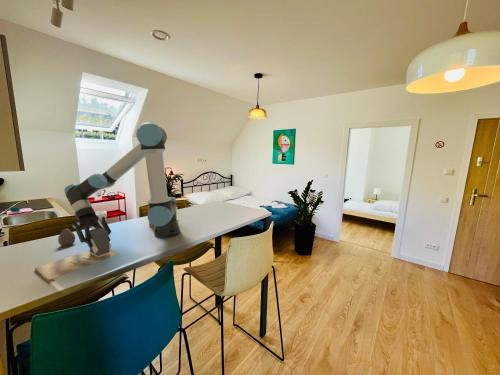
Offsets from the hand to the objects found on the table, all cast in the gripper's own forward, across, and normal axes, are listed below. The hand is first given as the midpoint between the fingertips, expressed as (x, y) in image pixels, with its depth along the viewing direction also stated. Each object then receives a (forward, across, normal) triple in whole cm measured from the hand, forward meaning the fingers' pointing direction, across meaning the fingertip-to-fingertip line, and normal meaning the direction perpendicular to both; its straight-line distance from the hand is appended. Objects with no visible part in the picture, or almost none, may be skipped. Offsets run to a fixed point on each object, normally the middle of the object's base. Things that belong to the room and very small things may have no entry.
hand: (103, 249), depth 99 cm
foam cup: (-23, -14, -29) cm, 40 cm away
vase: (-19, +3, -26) cm, 32 cm away
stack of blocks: (-13, -49, -19) cm, 54 cm away
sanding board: (0, +8, -5) cm, 10 cm away
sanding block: (-1, 0, -5) cm, 5 cm away
